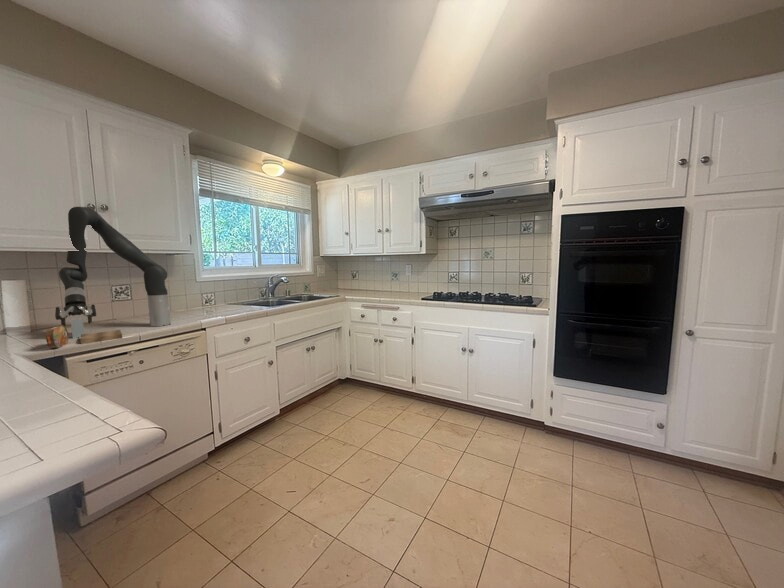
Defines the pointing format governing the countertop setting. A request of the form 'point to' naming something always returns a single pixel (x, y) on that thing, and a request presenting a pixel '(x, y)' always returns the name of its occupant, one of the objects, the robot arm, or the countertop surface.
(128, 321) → the countertop surface
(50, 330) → the tin
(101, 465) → the countertop surface
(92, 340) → the walnut board
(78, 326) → the slate block
